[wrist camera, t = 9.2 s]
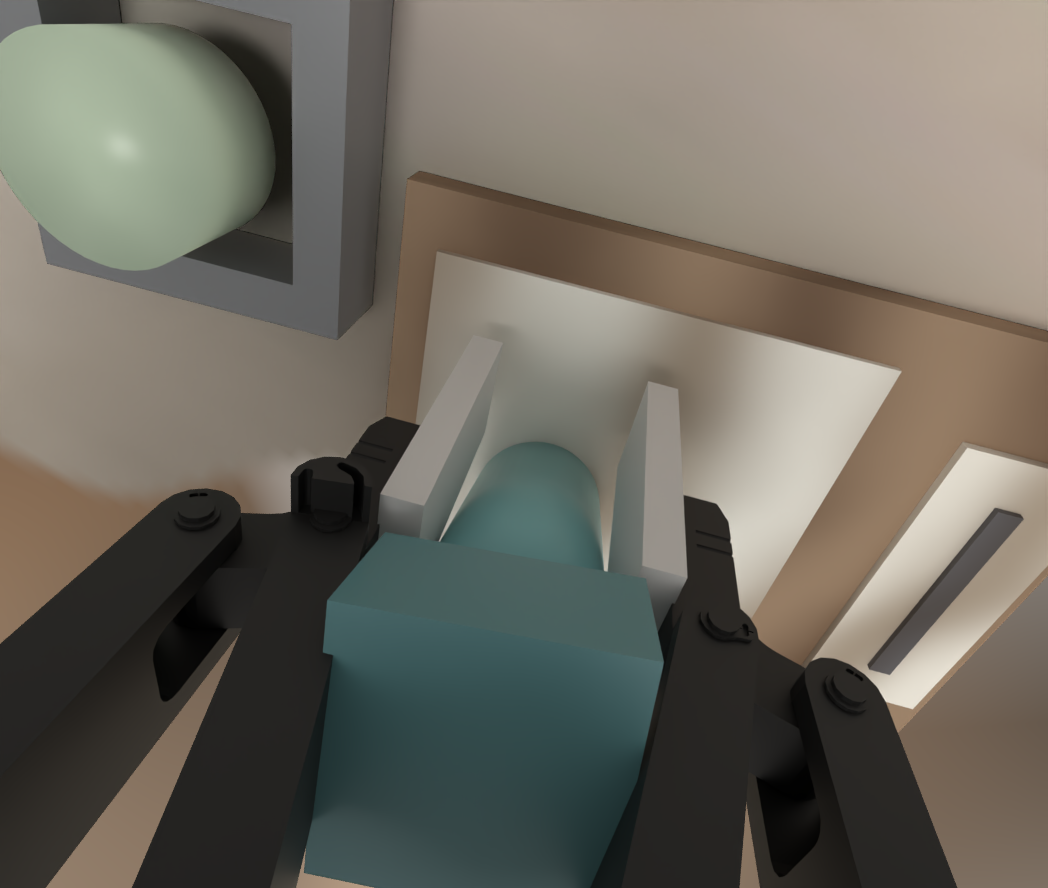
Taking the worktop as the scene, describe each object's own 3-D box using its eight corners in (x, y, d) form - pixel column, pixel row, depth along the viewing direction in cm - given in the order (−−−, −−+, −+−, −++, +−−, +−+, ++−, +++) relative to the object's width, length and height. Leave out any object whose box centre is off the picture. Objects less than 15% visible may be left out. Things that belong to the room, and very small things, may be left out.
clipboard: (377, 590, 26) (363, 619, 24) (419, 171, 17) (400, 183, 15) (872, 727, 25) (884, 763, 24) (1196, 369, 16) (1242, 398, 15)
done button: (110, 208, 16) (13, 241, 14) (77, 1, 14) (-49, -3, 11) (277, 251, 16) (208, 293, 14) (273, 50, 14) (188, 57, 11)
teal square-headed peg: (458, 555, 20) (304, 872, 9) (476, 424, 19) (327, 600, 8) (592, 579, 20) (602, 935, 9) (618, 447, 19) (664, 662, 8)
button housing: (112, 236, 19) (47, 263, 17) (54, -111, 15) (-44, -133, 13) (372, 305, 19) (337, 340, 17) (395, -27, 14) (351, -35, 12)
